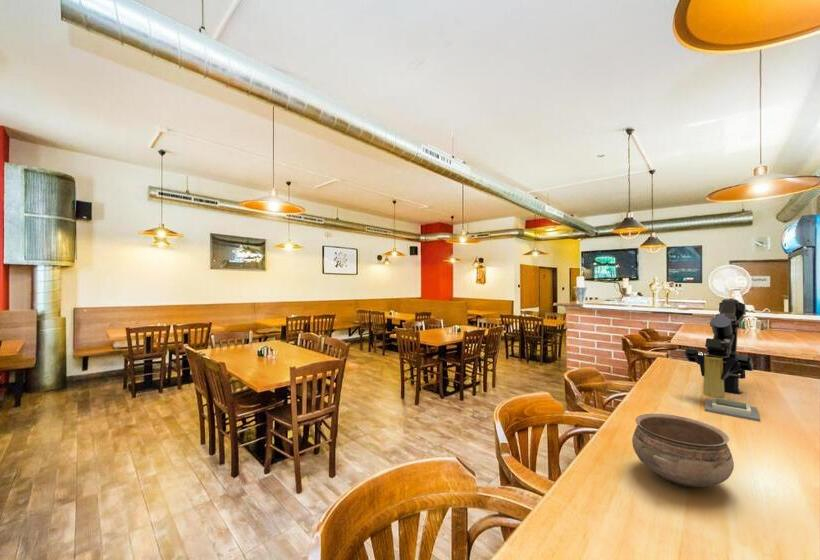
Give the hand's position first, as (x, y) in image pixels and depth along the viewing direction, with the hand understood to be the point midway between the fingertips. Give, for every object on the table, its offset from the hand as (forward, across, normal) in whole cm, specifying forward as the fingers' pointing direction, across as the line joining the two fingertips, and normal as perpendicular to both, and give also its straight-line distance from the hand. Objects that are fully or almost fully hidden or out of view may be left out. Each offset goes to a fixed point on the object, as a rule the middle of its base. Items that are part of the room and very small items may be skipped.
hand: (712, 377), depth 127 cm
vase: (+4, 0, +6) cm, 7 cm away
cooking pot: (+53, +11, -38) cm, 66 cm away
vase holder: (+6, +4, +10) cm, 12 cm away
